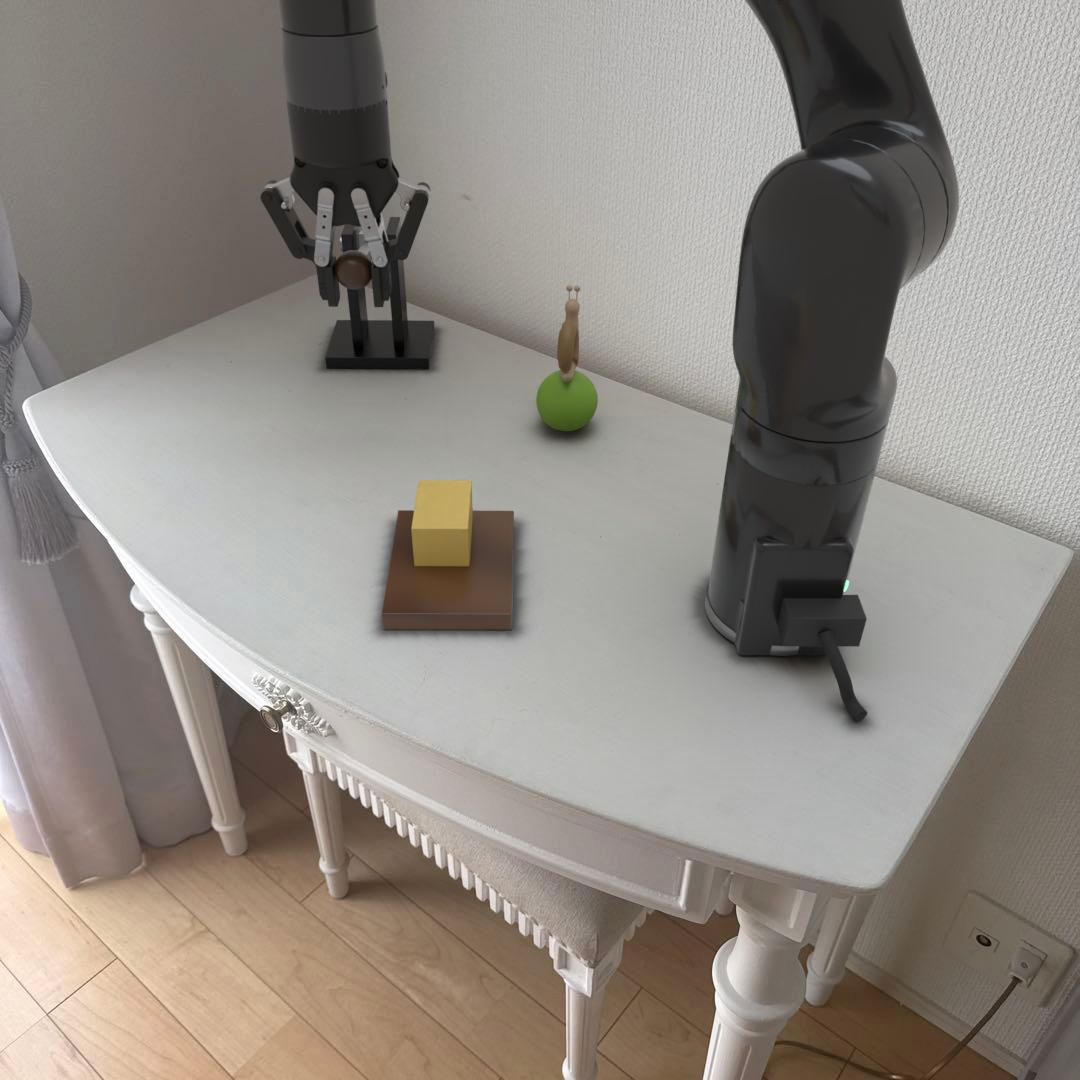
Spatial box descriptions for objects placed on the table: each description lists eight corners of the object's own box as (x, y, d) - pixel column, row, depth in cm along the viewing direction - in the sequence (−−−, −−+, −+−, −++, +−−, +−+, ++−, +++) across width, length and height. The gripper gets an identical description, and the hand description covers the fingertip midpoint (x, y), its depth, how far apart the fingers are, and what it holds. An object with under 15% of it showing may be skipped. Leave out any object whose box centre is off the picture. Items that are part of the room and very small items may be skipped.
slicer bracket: (429, 369, 102) (421, 242, 94) (326, 368, 102) (310, 242, 94) (434, 331, 108) (428, 209, 100) (338, 330, 108) (323, 208, 100)
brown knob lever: (371, 293, 87) (369, 254, 85) (333, 293, 87) (329, 253, 85) (392, 258, 100) (390, 224, 99) (358, 258, 100) (356, 223, 99)
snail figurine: (598, 407, 97) (605, 285, 89) (594, 444, 92) (601, 319, 84) (540, 403, 97) (542, 282, 90) (532, 440, 92) (534, 315, 85)
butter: (469, 566, 76) (467, 528, 74) (414, 566, 76) (411, 528, 74) (472, 517, 81) (471, 480, 79) (421, 516, 81) (418, 479, 79)
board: (512, 630, 73) (512, 614, 72) (382, 629, 73) (381, 613, 72) (513, 525, 82) (513, 510, 82) (399, 525, 82) (398, 509, 81)
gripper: (230, 104, 76) (266, 322, 86) (426, 106, 76) (437, 324, 86) (252, 76, 81) (282, 283, 92) (433, 78, 82) (443, 285, 92)
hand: (357, 302), depth 89 cm, fingers closed on brown knob lever, 3 cm apart
